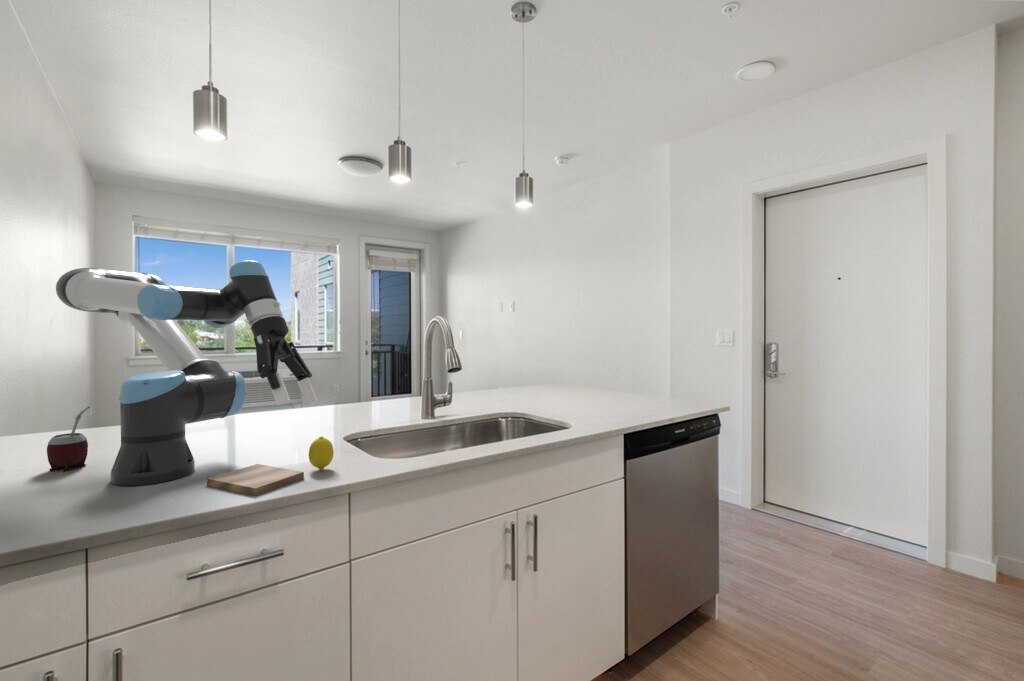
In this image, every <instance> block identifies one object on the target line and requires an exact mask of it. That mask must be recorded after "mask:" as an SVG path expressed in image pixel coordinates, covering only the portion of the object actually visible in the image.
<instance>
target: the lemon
mask: <svg viewBox="0 0 1024 681" xmlns="http://www.w3.org/2000/svg"><path fill="white" fill-rule="evenodd" d="M334 455H335V452H334V446H333V444H332V442H331V440H330V439H328V438H326V437H324V436H319V438H316V439H314V440H313V441H312V442H311V444H310V446H309V449H308V461H309V463H310V465H311V466H313V467H314V468H316V469H318V470H320V471H323V470H324V469H325V467H328V466H329V465H330V464H331V462H332V461H333V459H334Z"/></svg>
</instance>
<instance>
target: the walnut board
mask: <svg viewBox="0 0 1024 681" xmlns="http://www.w3.org/2000/svg"><path fill="white" fill-rule="evenodd" d="M304 472H305V471H302V470H301V471H300V470H294V469H290V468H284V467H276V466H272V465H266V464H265V465H264V464H260V463H257V464H252V465H249V466H246V467H242V468H239V469H238V468H237V469H235V470H232V471H228V472H224V473H221V474H218V475H214V476H211V477H207V478H206V486H207V487H213V488H217V489H223V490H226V489H227V490H226V491H231V492H235V491H236V492H235V493H240V492H241V493H240V494H246V495H250V496H259V495H262V494H265V493H267V492H271V491H272V490H277V489H279V488H282V487H284V486H287V485H289V484H293V483H295V482H298V481H301V480H304V479H305V473H304Z"/></svg>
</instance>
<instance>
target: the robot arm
mask: <svg viewBox="0 0 1024 681" xmlns="http://www.w3.org/2000/svg"><path fill="white" fill-rule="evenodd" d="M228 274H229V277H230V279H231V281H230V282H229V283H227V285H226V286H224V287H223V288H221V289H219V290H218V289H212V288H211V289H210V288H208V289H207V288H199V287H198V288H197V287H187V286H186V287H185V286H177V285H176V286H175V285H169V284H166V283H165V281H164V280H162V279H161V277H159V276H157V275H154V274H149V273H146V272H140V271H137V272H136V271H135V272H134V271H132V272H131V271H122V270H114V269H105V268H97V267H80V268H76V269H75V268H74V269H72V270H69V271H67V272H65V273H64V274H62V275H61V276H60V277H59V278H58V280H57V282H56V283H55V284H56V285H55V291H56V295H57V297H58V299H59V300H60V301H61V302H62V303H63V304H64V305H65V306H67V307H69V308H72V309H74V310H77V311H82V312H87V313H105V314H115V315H116V316H117V317H118V319H119V320H120V321H121V322H122V323H123V324H124V325H126V326H130V327H134V329H135V330H136V331H137V333H138V334H139V335H140V336H141V338H142V339H143V340H144V341H145V343H146V344H147V345H148V347H149V348H150V349H151V351H152V352H153V353H154V354H155V356H156V357H157V358H158V360H159V361H160V363H161V364H163V366H164V368H165V370H163V371H162V370H161V371H153V372H147V373H142V374H137V375H133V376H130V377H127V378H126V379H124V380H123V381H122V384H121V385H120V394H119V398H118V400H119V404H120V408H119V409H120V411H119V412H120V447H119V450H118V452H117V455H116V457H115V460H114V462H113V465H112V468H111V471H110V482H111V484H113V485H116V486H124V487H125V486H127V487H128V486H130V487H131V486H142V485H143V486H145V485H153V484H159V483H164V482H169V481H174V480H176V479H180V478H182V477H186V476H188V475H190V474H192V473H193V472H195V463H196V462H195V459H194V456H193V454H192V451H191V449H190V446H189V444H188V441H187V439H186V425H188V424H193V423H198V422H204V421H205V422H206V421H210V420H215V419H225V418H226V417H230V416H234V415H236V414H238V413H239V412H240V411H242V409H243V407H244V405H245V403H246V401H247V393H248V388H247V382H246V380H245V378H244V376H243V375H242V373H239V372H238V371H234V370H229V371H226V370H225V368H223V367H222V365H221V364H220V363H219V362H218V361H217V360H214V359H210V358H207V357H206V356H205V355H204V353H203V352H202V351H201V350H200V349H199V347H198V346H197V345H196V344H195V342H194V341H193V340H192V338H191V337H190V336H189V335H188V334H187V333H186V331H185V330H184V329H183V328H182V327H181V326H180V324H179V323H178V322H177V321H199V322H200V321H203V322H204V323H205V324H206V325H207V326H211V327H213V328H215V329H223V328H226V327H227V326H229V325H231V324H233V323H235V322H237V320H238V319H240V318H241V317H242V316H243V315H245V317H246V320H247V323H248V326H250V330H251V332H252V335H253V341H254V342H253V343H254V345H255V354H256V369H257V372H258V373H259V376H260V378H261V379H262V380H263V379H266V380H267V382H268V385H269V387H270V390H271V392H272V396H273V398H274V400H275V403H276V406H280V405H283V404H285V403H287V402H289V401H291V397H290V394H289V393H288V390H287V388H286V385H285V383H284V380H283V376H282V374H281V372H278V366H279V361H280V363H284V364H285V365H286V367H287V368H288V369H289V370H290V372H291V373H292V374H293V375H294V377H295V379H296V380H298V381H296V383H297V386H298V389H299V391H300V394H301V396H302V398H303V401H304V403H305V406H306V407H309V406H312V405H313V404H316V403H318V402H319V400H318V399H317V396H316V393H315V390H314V388H313V386H312V383H311V381H310V378H312V377H313V374H312V372H311V371H310V370H309V368H308V366H307V365H306V363H305V361H304V360H303V358H302V357H301V355H300V353H299V352H298V350H297V348H296V346H295V344H294V342H293V341H290V342H289V343H288V341H287V340H286V338H285V337H286V336H287V335H288V334H289V331H290V329H289V327H288V325H287V321H286V320H285V317H284V315H283V313H282V310H281V307H280V306H281V303H280V302H278V299H277V297H276V295H275V293H274V292H275V291H274V289H273V287H272V284H271V281H270V277H269V275H268V274H267V272H266V270H265V267H264V266H263V264H262V263H261V262H259V261H257V260H250V259H249V260H243V261H238V262H236V263H234V264H232V266H231V267H230V269H229V272H228Z"/></svg>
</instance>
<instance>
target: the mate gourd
mask: <svg viewBox="0 0 1024 681" xmlns="http://www.w3.org/2000/svg"><path fill="white" fill-rule="evenodd" d="M90 408H91V406H87V407H86V408H84V409H83V410H81V411H80V412H79V413H78V414H77V415H76V417H75V421H74V424H73V427H72V429H71V432H69V433H62V434H56V435H54V436H52V437H51V438H50V440H49V441H48V442H47V445H46V456H47V462H48V463H49V466H50V468H49V472H53V471H52V470H56V471H62V470H61V469H64V470H63V473H66V471H68V472H69V471H70V470H71V469H70V468H72V469H76V468H75V467H80V468H83V467H82V466H87V464H86V463H85V462H86V460H87V458H88V451H89V450H88V449H89V442H88V439H87V437H86V435H84V433H80V432H76V429H77V427H78V424H79V421H80V420H81V418H82V415H83V414H84V413H85V412H86V411H88V409H90ZM69 469H70V470H69Z"/></svg>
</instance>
